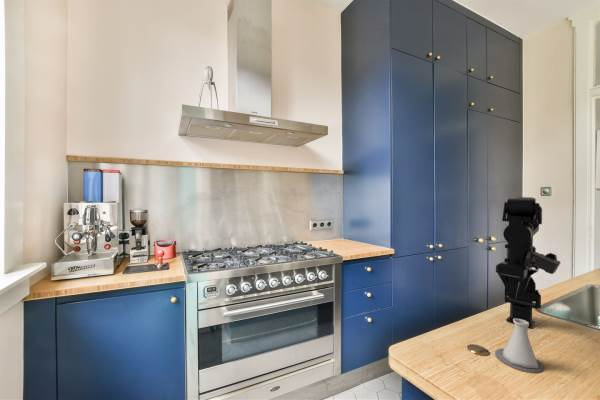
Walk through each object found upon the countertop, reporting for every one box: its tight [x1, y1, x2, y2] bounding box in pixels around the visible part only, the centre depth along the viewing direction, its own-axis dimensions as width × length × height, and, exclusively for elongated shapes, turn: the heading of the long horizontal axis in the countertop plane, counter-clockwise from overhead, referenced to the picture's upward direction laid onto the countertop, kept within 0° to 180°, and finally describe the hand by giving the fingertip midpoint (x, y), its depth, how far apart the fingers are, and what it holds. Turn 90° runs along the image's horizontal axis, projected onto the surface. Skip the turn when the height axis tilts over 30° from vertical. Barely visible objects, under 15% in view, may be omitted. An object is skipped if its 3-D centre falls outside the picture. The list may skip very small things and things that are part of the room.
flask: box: [503, 319, 538, 368], centre depth 68 cm, size 7×7×10 cm
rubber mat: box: [494, 348, 544, 374], centre depth 69 cm, size 10×10×1 cm
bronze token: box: [466, 343, 490, 357], centre depth 73 cm, size 5×5×1 cm
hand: (517, 295), depth 78 cm, fingers open, 9 cm apart
